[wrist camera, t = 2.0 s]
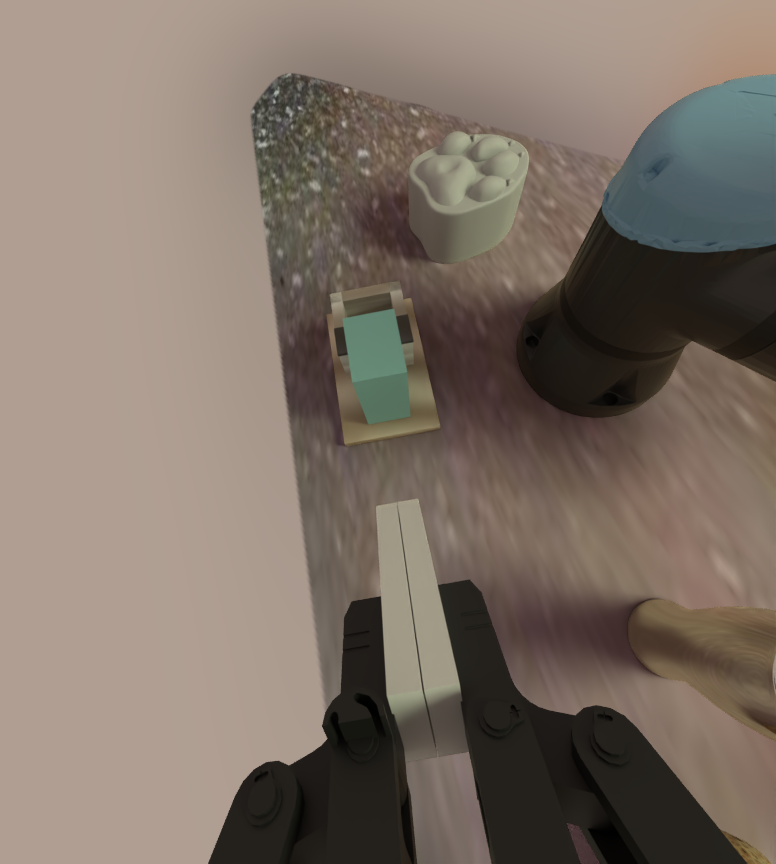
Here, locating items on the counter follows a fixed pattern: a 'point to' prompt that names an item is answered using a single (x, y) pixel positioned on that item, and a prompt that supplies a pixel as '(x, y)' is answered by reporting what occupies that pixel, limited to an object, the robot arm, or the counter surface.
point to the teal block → (378, 365)
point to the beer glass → (713, 655)
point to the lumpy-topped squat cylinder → (465, 194)
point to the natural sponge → (746, 850)
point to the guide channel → (417, 372)
